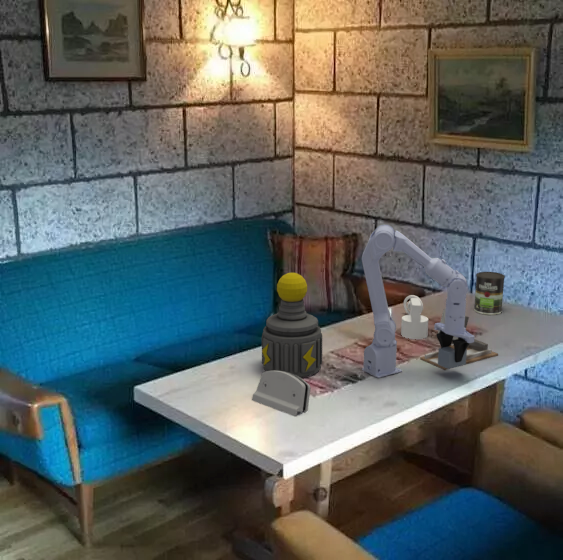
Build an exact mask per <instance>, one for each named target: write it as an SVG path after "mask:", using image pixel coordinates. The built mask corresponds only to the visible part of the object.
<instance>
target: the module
mask: <svg viewBox="0 0 563 560" xmlns="http://www.w3.org/2000/svg"><path fill="white" fill-rule="evenodd" d="M438 351H439V353H438V365H440V366H442V367H445V368H447V369H446V370H452V369H454V368H459V367H463V366H466V365H467V364H466V355H467V349H466V351H465V353H464V355H463V358H462V361H461V362H455V349H454V344H451V346H448V347H443V348H441V347H439V348H438Z"/></svg>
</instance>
